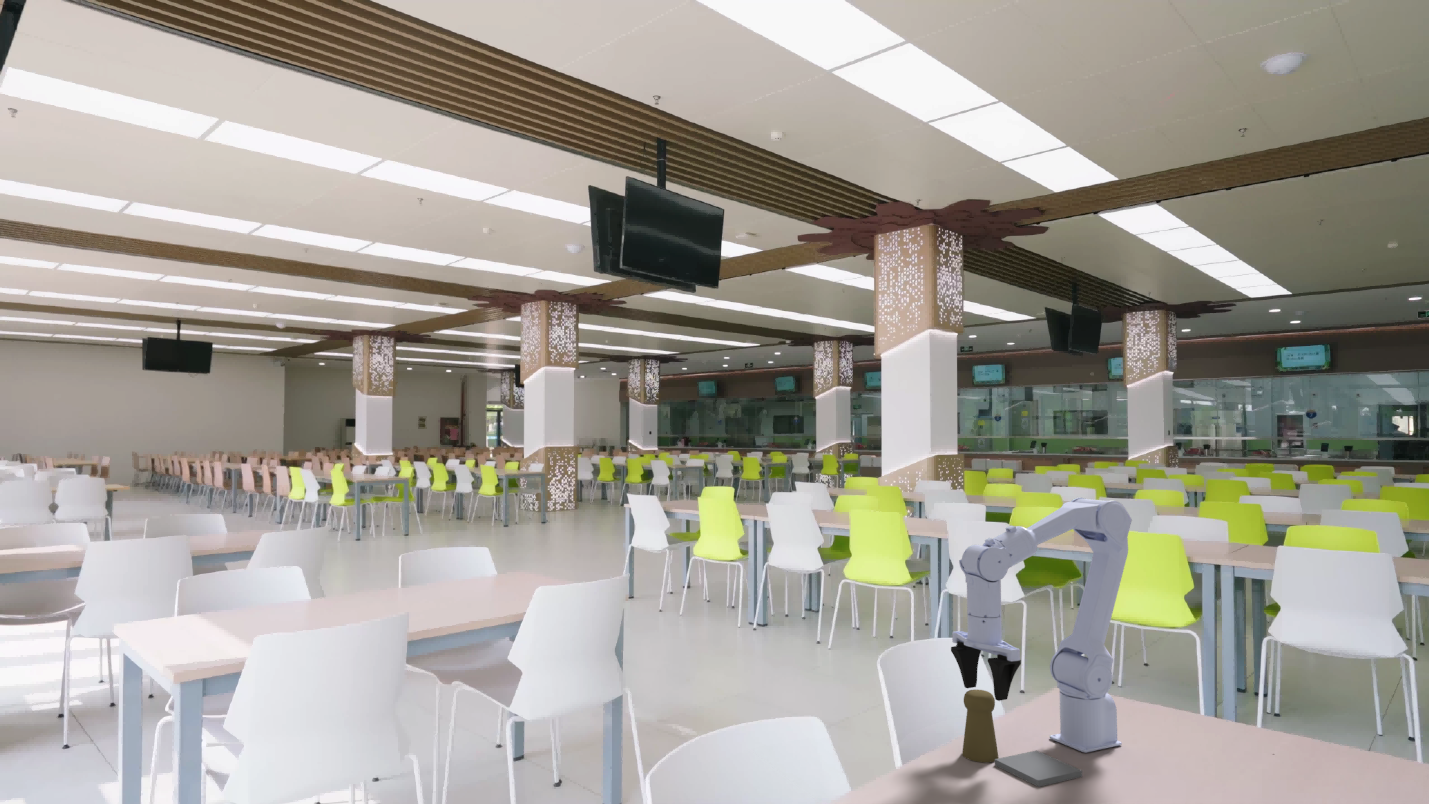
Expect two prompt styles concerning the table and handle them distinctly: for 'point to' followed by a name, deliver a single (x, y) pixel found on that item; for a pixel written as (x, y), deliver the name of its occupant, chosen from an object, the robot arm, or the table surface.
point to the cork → (979, 727)
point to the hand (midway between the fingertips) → (985, 693)
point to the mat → (1038, 768)
